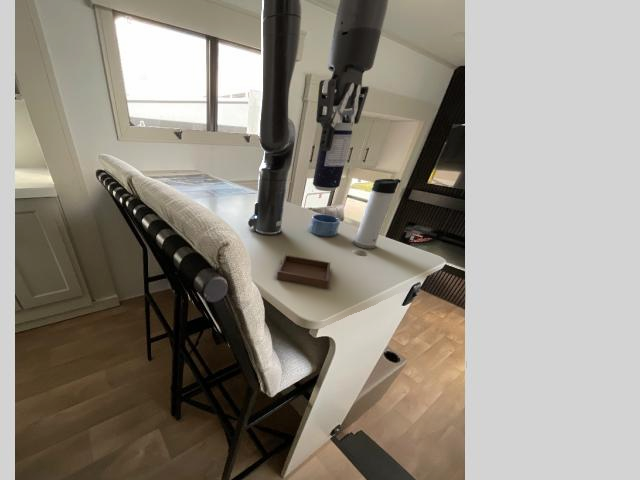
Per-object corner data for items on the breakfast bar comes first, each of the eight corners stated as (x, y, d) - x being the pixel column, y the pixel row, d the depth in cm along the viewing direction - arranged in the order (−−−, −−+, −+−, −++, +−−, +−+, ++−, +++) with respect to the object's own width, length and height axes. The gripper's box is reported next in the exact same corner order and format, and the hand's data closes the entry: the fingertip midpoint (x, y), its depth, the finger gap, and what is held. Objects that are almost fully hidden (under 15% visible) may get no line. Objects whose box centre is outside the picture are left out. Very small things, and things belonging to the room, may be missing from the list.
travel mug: (377, 250, 79) (404, 181, 68) (355, 247, 80) (378, 179, 69) (373, 242, 84) (397, 177, 73) (352, 240, 85) (373, 175, 74)
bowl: (308, 234, 88) (311, 220, 85) (310, 226, 95) (313, 212, 92) (336, 238, 86) (339, 224, 83) (336, 229, 93) (340, 216, 90)
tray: (276, 278, 63) (277, 271, 61) (283, 261, 71) (285, 254, 69) (326, 288, 60) (328, 281, 59) (328, 269, 68) (330, 262, 66)
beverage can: (341, 188, 56) (356, 123, 49) (334, 193, 52) (350, 123, 45) (316, 185, 59) (328, 122, 52) (308, 189, 55) (319, 122, 48)
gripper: (355, 43, 48) (334, 147, 58) (313, 25, 40) (296, 149, 49) (397, 36, 43) (366, 150, 53) (359, 15, 35) (330, 153, 45)
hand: (332, 149), depth 51 cm, fingers closed on beverage can, 5 cm apart
